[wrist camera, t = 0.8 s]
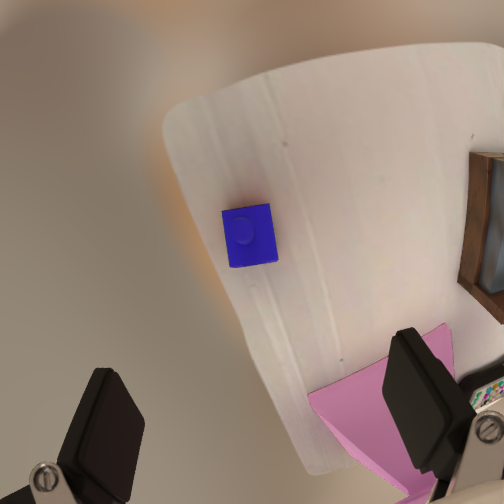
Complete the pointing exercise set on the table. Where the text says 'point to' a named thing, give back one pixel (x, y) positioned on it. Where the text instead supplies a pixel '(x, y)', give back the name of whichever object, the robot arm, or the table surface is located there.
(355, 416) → the pink table lamp
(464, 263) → the doll bed
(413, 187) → the table surface
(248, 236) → the toy building block
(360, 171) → the table surface
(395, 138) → the table surface
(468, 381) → the phone
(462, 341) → the table surface
